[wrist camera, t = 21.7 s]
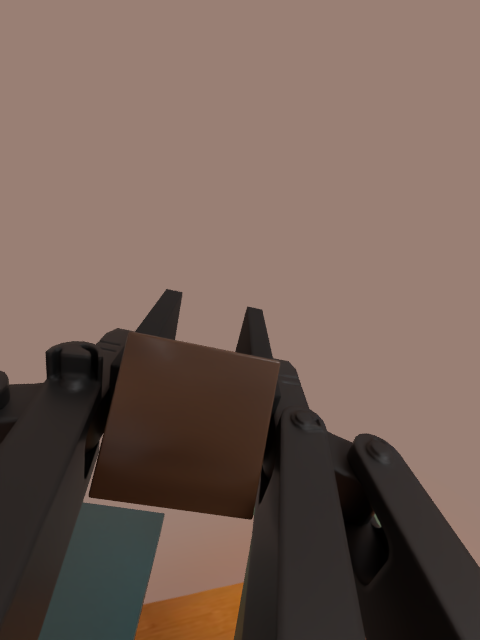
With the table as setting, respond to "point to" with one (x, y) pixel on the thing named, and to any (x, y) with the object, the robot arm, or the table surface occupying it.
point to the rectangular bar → (186, 428)
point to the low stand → (103, 575)
